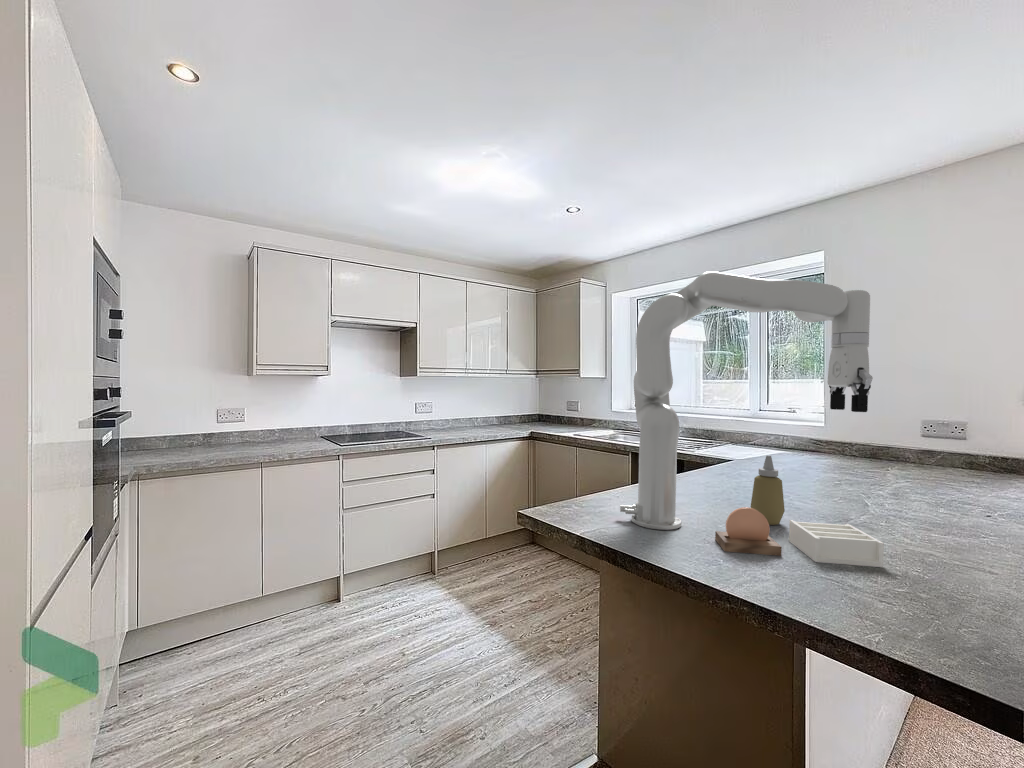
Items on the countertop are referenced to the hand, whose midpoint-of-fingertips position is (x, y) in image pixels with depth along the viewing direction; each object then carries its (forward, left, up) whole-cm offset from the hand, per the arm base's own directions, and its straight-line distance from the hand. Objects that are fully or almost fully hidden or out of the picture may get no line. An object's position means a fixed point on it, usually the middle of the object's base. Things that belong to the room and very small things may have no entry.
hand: (847, 410), depth 114 cm
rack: (-9, -13, -31) cm, 35 cm away
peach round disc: (-27, -14, -27) cm, 40 cm away
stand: (-27, -14, -31) cm, 44 cm away
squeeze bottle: (-15, +8, -31) cm, 36 cm away
